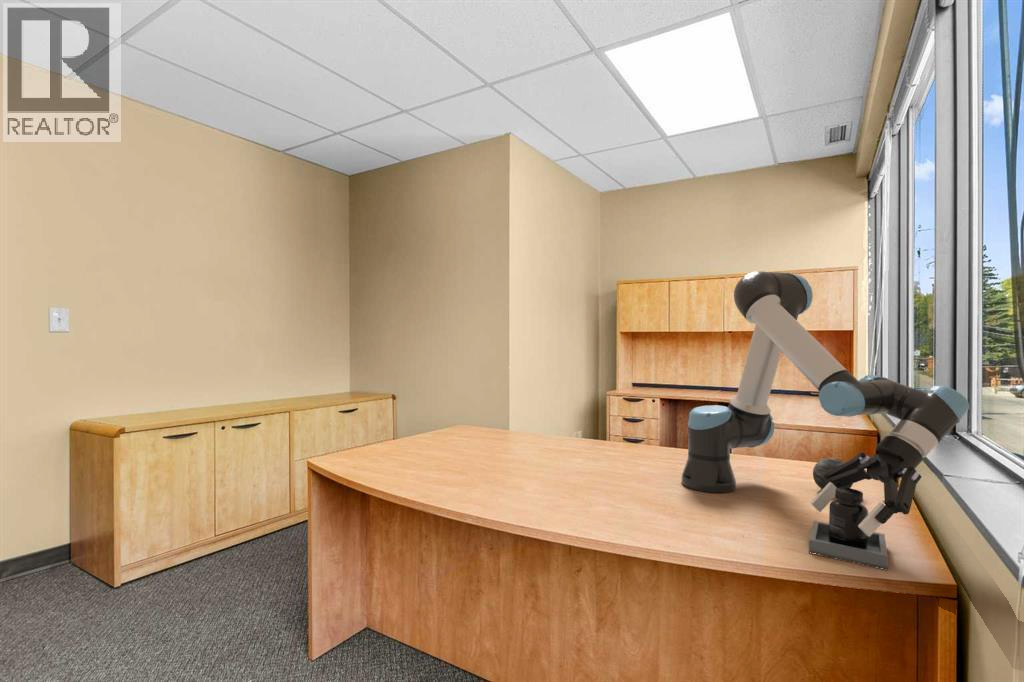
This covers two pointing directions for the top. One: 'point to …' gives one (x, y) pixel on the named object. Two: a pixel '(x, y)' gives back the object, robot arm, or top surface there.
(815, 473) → the decorative stone
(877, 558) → the tray
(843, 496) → the supplement bottle
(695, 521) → the top surface
